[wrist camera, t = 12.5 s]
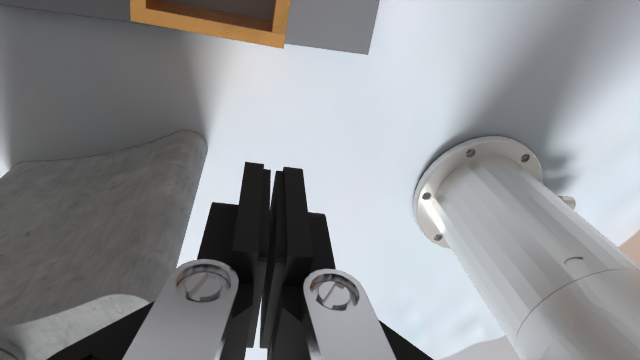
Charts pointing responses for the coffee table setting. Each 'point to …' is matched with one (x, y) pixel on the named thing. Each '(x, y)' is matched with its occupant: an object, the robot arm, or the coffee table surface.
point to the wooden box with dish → (214, 21)
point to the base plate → (302, 26)
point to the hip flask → (90, 240)
